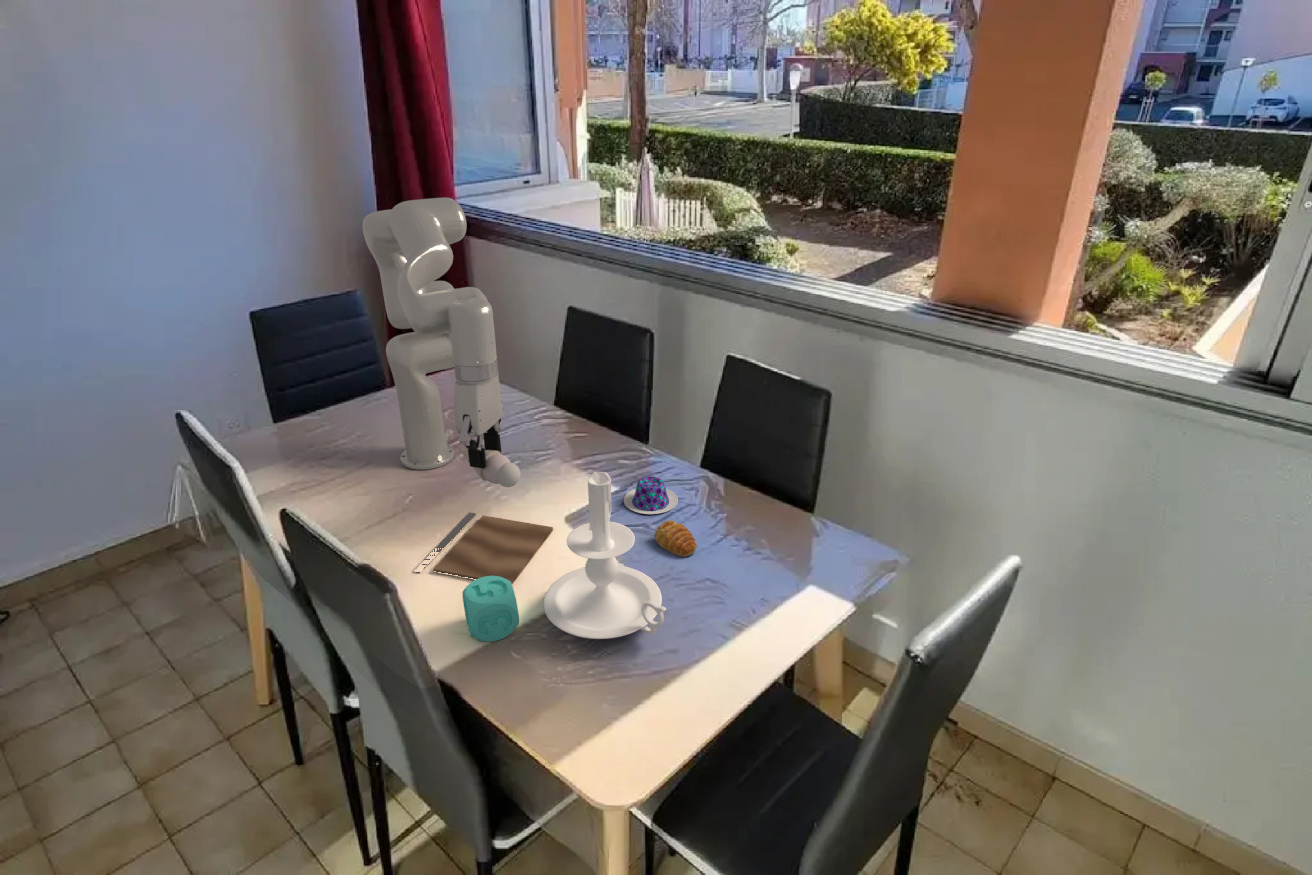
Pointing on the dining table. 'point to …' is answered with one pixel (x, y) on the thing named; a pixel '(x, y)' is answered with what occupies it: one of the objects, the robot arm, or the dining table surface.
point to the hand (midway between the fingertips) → (485, 458)
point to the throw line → (453, 533)
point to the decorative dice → (490, 608)
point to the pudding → (650, 497)
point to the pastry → (675, 538)
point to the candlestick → (603, 578)
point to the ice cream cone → (497, 469)
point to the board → (494, 549)
